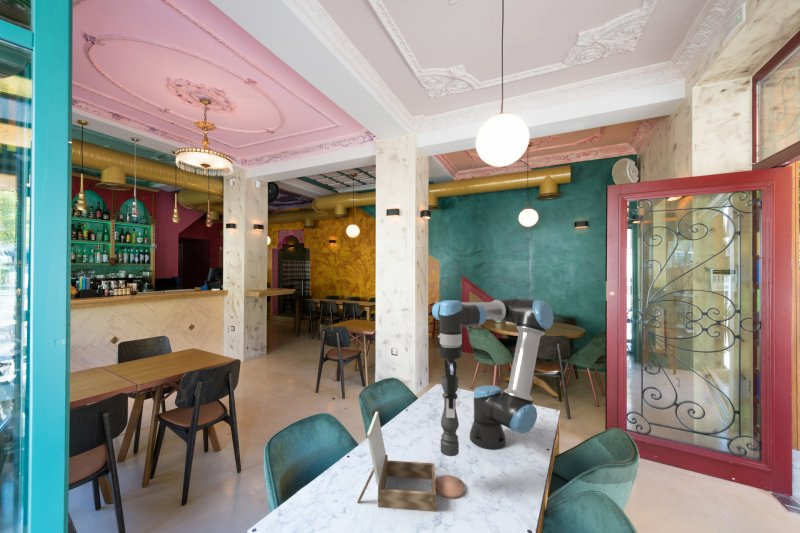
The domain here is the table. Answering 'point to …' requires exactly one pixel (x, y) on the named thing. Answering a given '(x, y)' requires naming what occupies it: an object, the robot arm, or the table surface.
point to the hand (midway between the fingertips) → (449, 413)
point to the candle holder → (449, 425)
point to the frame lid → (376, 446)
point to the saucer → (449, 486)
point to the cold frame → (404, 497)
